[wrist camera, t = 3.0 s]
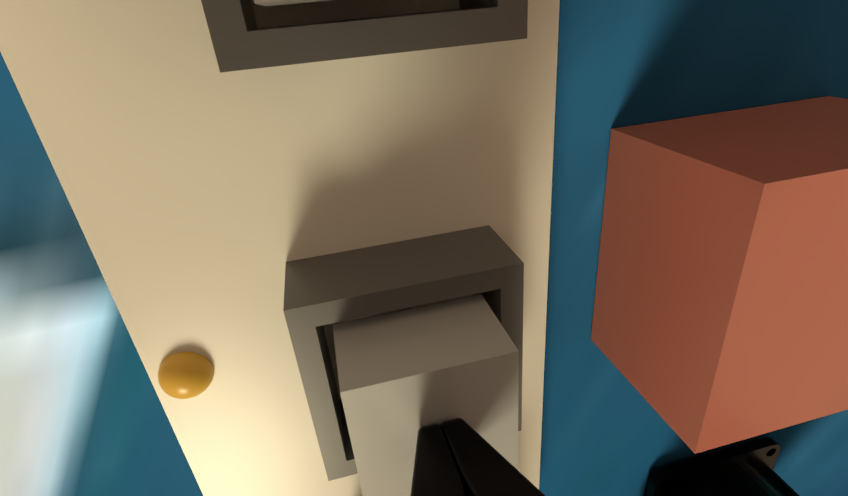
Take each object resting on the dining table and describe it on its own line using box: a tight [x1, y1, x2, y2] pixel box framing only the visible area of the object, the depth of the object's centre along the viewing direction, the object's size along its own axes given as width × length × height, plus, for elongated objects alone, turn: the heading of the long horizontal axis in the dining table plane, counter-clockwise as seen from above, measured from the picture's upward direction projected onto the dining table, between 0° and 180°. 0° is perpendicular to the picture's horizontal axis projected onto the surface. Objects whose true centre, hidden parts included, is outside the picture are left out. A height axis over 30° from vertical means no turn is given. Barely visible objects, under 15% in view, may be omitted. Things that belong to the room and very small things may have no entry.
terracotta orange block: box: [591, 96, 848, 454], centre depth 13 cm, size 7×7×5 cm
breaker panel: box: [0, 0, 560, 496], centre depth 12 cm, size 10×24×4 cm, turn 5°
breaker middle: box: [332, 294, 519, 496], centre depth 10 cm, size 3×3×2 cm
